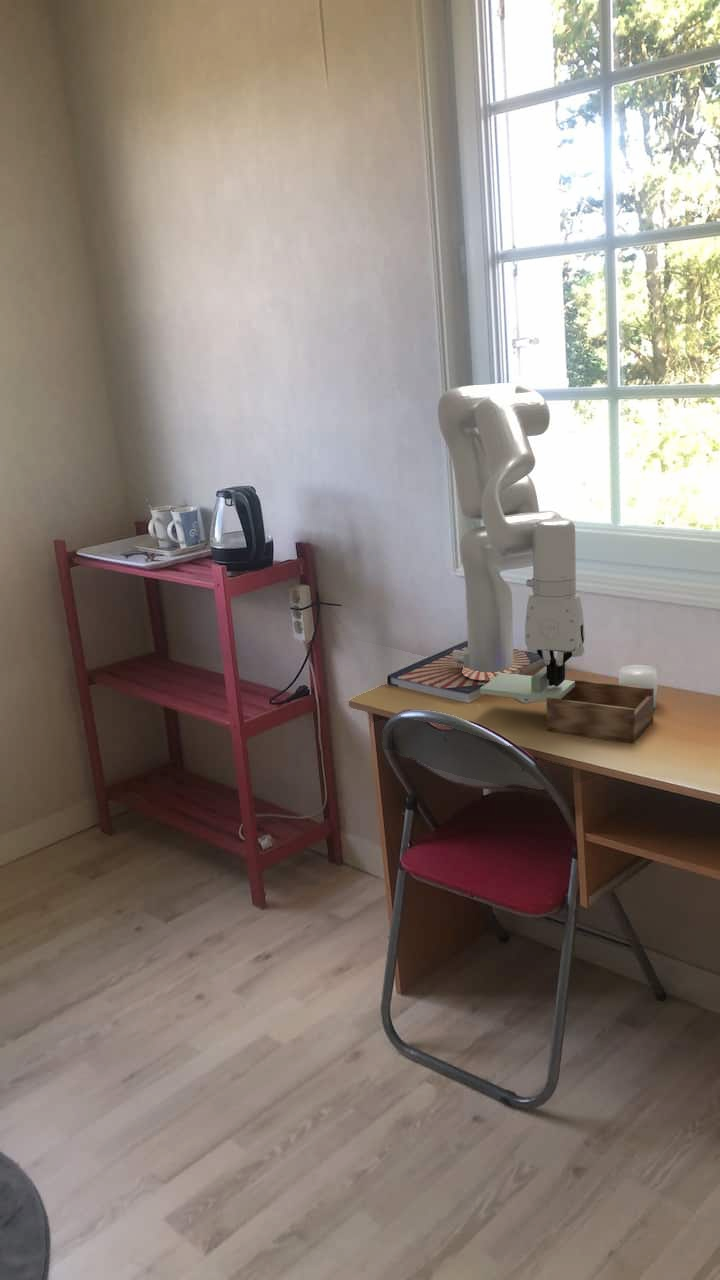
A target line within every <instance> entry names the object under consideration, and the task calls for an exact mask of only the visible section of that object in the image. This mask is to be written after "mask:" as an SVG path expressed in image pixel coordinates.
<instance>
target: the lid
mask: <svg viewBox="0 0 720 1280" xmlns="http://www.w3.org/2000/svg"><path fill="white" fill-rule="evenodd" d="M574 687H575V681H570V680H569V679H565V680H564V681H563V682H562V683H561V684H560V685H559V686H554V685H553V686H549V680H548V679H547V665H546V666H544V667H543V668H541V669H540V670H539V671H537V672H536V673H535V674H534V675H526V674H510V673H500V674H499V675H497V676H496V677H495V678H493V679H492V680H490V681H489V682H486V683H485V684H484V685H482V686H481V687H480V688H479V694H482V695H489V696H490V695H491V696H498V697H506V698H514V699H516V698H520V699H528V700H536V701H535V702H537V701H538V702H544V703H545V702H546V699H547V698H554V699H561V698H562V697H563V696H565V695H566V694H567V693H568V692H569V691H570V690H571V689H572V688H574Z"/></svg>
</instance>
